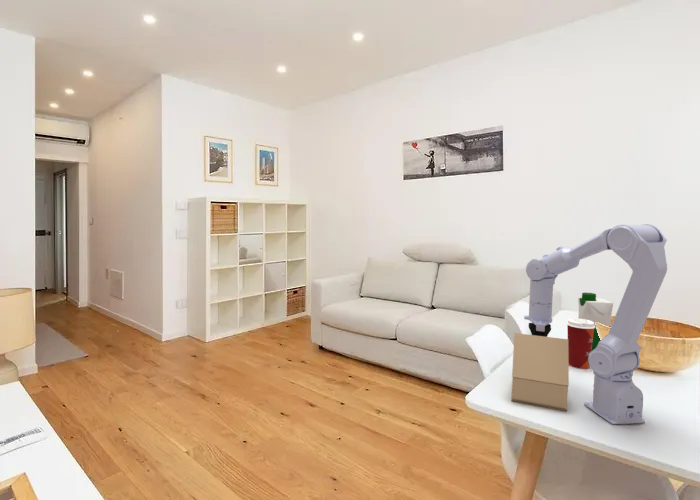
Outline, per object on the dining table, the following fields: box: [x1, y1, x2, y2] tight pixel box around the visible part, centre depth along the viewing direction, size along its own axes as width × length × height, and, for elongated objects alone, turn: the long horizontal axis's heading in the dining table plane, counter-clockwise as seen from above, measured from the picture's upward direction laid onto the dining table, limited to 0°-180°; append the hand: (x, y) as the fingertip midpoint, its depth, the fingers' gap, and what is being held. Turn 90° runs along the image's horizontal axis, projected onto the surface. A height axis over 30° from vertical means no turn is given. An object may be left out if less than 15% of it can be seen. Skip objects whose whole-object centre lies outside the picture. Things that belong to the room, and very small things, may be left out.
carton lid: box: [511, 332, 570, 387], centre depth 96 cm, size 11×12×1 cm
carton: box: [511, 377, 569, 412], centre depth 99 cm, size 11×12×6 cm
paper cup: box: [566, 317, 595, 370], centre depth 120 cm, size 8×8×14 cm
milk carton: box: [577, 292, 614, 351], centre depth 131 cm, size 9×9×20 cm
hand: (538, 349), depth 109 cm, fingers closed
